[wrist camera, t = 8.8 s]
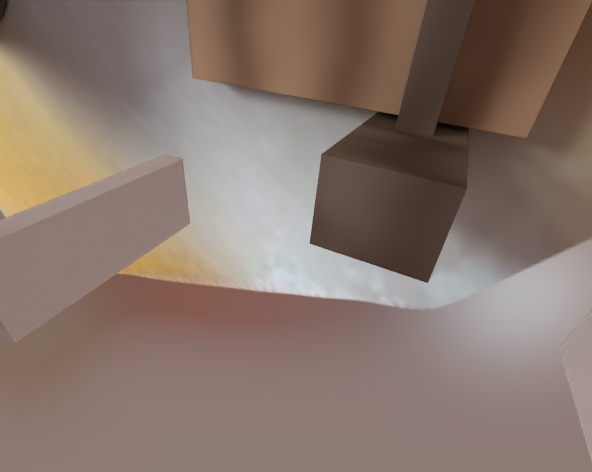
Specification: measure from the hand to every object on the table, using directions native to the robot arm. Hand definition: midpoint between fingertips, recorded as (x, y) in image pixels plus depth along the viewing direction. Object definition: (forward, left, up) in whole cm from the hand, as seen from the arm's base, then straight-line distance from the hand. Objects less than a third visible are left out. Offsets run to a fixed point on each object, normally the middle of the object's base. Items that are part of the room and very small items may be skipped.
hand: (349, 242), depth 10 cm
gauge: (0, +5, -12) cm, 13 cm away
